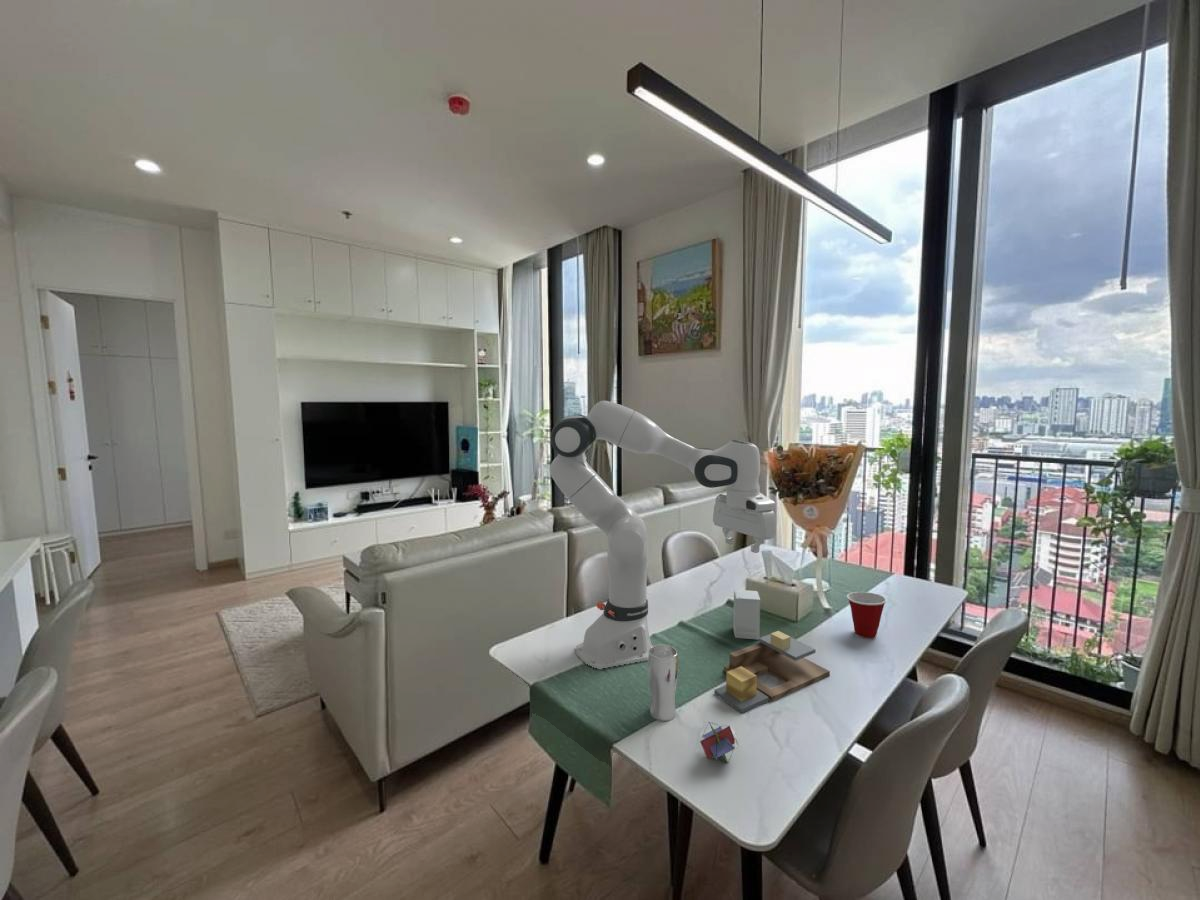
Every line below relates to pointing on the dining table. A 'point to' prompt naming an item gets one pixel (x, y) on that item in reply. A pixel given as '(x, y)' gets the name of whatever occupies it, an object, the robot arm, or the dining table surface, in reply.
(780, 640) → the sliding cover
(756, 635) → the supplement box
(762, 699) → the slate coaster
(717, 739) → the geometric puzzle
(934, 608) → the dining table surface
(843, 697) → the dining table surface
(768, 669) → the puzzle board
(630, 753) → the dining table surface
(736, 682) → the ochre block
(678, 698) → the dining table surface
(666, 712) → the beer glass
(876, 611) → the plastic cup
